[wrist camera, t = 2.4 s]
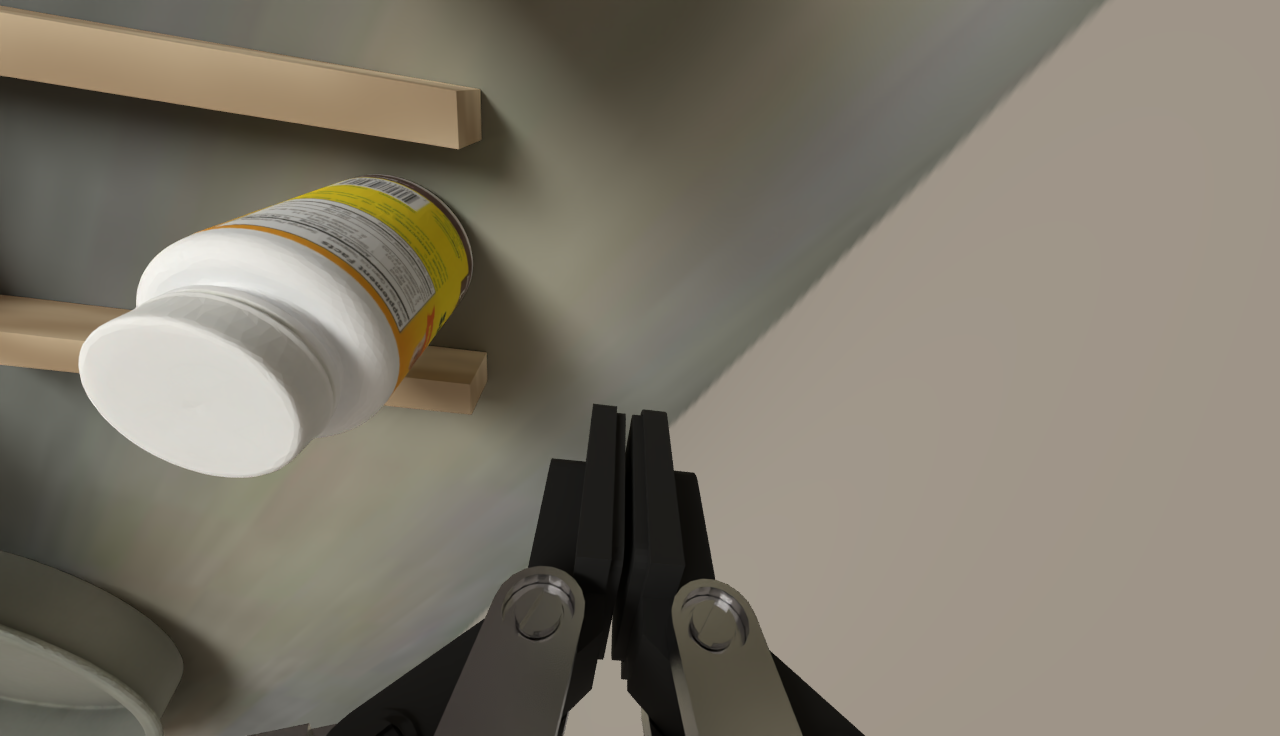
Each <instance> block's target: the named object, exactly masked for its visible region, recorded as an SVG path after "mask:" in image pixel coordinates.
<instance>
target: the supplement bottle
mask: <svg viewBox="0 0 1280 736" xmlns="http://www.w3.org/2000/svg"><path fill="white" fill-rule="evenodd" d="M472 272H473V257H472V251H471V246H470V243H469V240H468V237H467V235H466V232H465V230H464V228H463V227H462V225H461V223H460V222H459V220H458V219H457V217H456V216H455V215H454V213H453V212H452V211H451V210H450V208H449V207H448V206H447V205H446V204H445V203H444V202H443V201H441V200H440V199H439V198H438V197H437V196H435V195H434V194H433V193H431V192H430V191H428V190H427V189H425V188H423V187H422V186H420V185H418V184H416V183H413V182H411V181H409V180H406V179H403V178H400V177H395V176H390V175H382V174H371V175H363V176H358V177H354V178H350V179H347V180H344V181H341V182H338V183H335V184H332V185H329V186H327V187H324V188H321V189H318V190H315V191H312V192H309V193H306V194H304V195H301V196H298V197H295V198H292V199H289V200H286V201H284V202H281V203H278V204H275V205H272V206H269V207H266V208H263V209H261V210H258V211H255V212H252V213H249V214H247V215H244V216H241V217H238V218H236V219H233V220H230V221H227V222H225V223H222V224H219V225H216V226H213V227H211V228H208V229H205V230H202V231H199V232H196V233H194V234H192V235H190V236H188V237H186V238H183V239H181V240H179V241H177V242H175V243H174V244H172V245H170V246H168V247H167V248H165V249H164V250H163V251H161V252H160V253H159V254H158V255H157V256H156V257H155V258H154V259H153V260H152V261H151V262H150V264H149V265H148V267H147V268H146V269H145V271H144V273H143V275H142V277H141V280H140V283H139V286H138V290H137V297H136V308H135V309H134V310H132V311H130V312H128V313H125V314H123V315H121V316H119V317H117V318H115V319H112V320H110V321H109V322H107V323H105V324H103V325H101V326H99V327H98V328H97V329H96V330H94V331H93V332H92V333H91V334H90V335H89V336H88V338H87V339H86V341H85V342H84V343H83V345H82V347H81V350H80V355H79V364H78V366H79V373H80V377H81V382H82V385H83V387H84V389H85V391H86V393H87V395H88V397H89V399H90V400H91V402H92V403H93V405H94V406H95V407H96V408H97V410H98V411H99V412H100V414H101V415H102V416H103V417H104V418H105V419H106V420H107V421H108V422H109V423H110V424H111V425H112V426H113V427H114V428H115V429H117V430H118V431H119V432H120V433H121V434H122V435H124V436H125V437H126V438H128V439H129V440H130V441H131V442H133V443H135V444H136V445H138V446H139V447H141V448H142V449H144V450H146V451H148V452H149V453H151V454H153V455H155V456H157V457H159V458H161V459H163V460H165V461H168V462H170V463H172V464H175V465H178V466H180V467H183V468H186V469H189V470H192V471H196V472H199V473H203V474H208V475H213V476H221V477H244V478H245V477H255V476H260V475H265V474H269V473H271V472H274V471H277V470H279V469H281V468H282V467H284V466H285V465H287V464H288V463H290V462H291V461H292V460H293V459H294V458H295V457H296V456H297V455H298V454H299V453H300V452H301V451H302V450H303V449H304V448H305V447H306V446H307V445H308V444H309V443H310V441H311V440H313V439H315V438H320V437H327V436H333V435H337V434H340V433H343V432H346V431H349V430H351V429H353V428H356V427H358V426H360V425H361V424H363V423H365V422H366V421H368V420H369V419H370V418H371V417H373V416H374V415H375V414H376V413H377V412H378V411H379V410H380V409H381V408H382V406H383V405H384V404H385V403H386V402H387V401H388V399H389V398H390V397H391V395H392V394H393V392H394V391H395V390H396V388H397V387H398V386H399V384H400V383H401V382H402V380H403V379H404V377H405V376H406V375H407V373H408V372H409V371H410V369H411V368H412V367H413V365H414V364H415V362H416V361H417V360H418V358H419V357H420V356H421V354H422V353H423V352H424V350H425V349H426V348H427V346H428V345H429V343H430V342H431V341H432V340H433V338H434V337H435V336H436V334H437V333H438V331H439V330H440V328H441V327H442V326H443V324H444V323H445V322H446V320H447V319H448V318H449V316H450V315H451V313H452V312H453V311H454V309H455V308H456V307H457V306H458V304H459V303H460V301H461V300H462V298H463V296H464V295H465V293H466V291H467V289H468V287H469V284H470V281H471V277H472Z"/></svg>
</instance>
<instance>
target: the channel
mask: <svg viewBox="0 0 1280 736" xmlns="http://www.w3.org/2000/svg"><path fill="white" fill-rule="evenodd" d="M0 76H7V77H13V78H19V79H25V80H32V81H38V82H44V83H50V84H56V85H63V86H69V87H75V88H81V89H87V90H94V91H100V92H106V93H112V94H119V95H125V96H131V97H137V98H143V99H150V100H156V101H162V102H168V103H175V104H181V105H187V106H193V107H199V108H206V109H212V110H218V111H224V112H230V113H237V114H243V115H249V116H255V117H262V118H268V119H274V120H280V121H286V122H293V123H299V124H305V125H311V126H317V127H324V128H330V129H336V130H342V131H349V132H355V133H361V134H367V135H373V136H380V137H386V138H392V139H398V140H404V141H411V142H417V143H423V144H429V145H436V146H442V147H448V148H454V149H461V148H463V147H466V146H468V145H470V144H473V143H475V142H478V141H480V140H482V133H481V91H480V89H476V88H470V87H465V86H459V85H453V84H447V83H442V82H436V81H430V80H424V79H419V78H413V77H407V76H401V75H396V74H390V73H384V72H378V71H373V70H367V69H361V68H356V67H350V66H344V65H338V64H333V63H327V62H321V61H315V60H310V59H304V58H298V57H292V56H287V55H281V54H275V53H269V52H264V51H258V50H252V49H246V48H241V47H235V46H229V45H223V44H218V43H212V42H206V41H200V40H195V39H189V38H183V37H177V36H172V35H166V34H160V33H154V32H149V31H143V30H137V29H132V28H126V27H120V26H114V25H109V24H103V23H97V22H91V21H86V20H80V19H74V18H68V17H63V16H57V15H51V14H45V13H40V12H34V11H28V10H22V9H17V8H11V7H5V6H0ZM130 311H132V310H126V309H118V308H109V307H101V306H93V305H84V304H76V303H67V302H59V301H51V300H42V299H34V298H26V297H17V296H9V295H0V365H9V366H18V367H28V368H37V369H46V370H56V371H65V372H75V373H79V366H78V364H79V355H80V350H81V347H82V345H83V343H84V342H85V341H86V339H87V338H88V336H89V335H90V334H91V333H92V332H93V331H94V330H96V329H97V328H98V327H99V326H101V325H103V324H105V323H107V322H109V321H110V320H112V319H115V318H117V317H119V316H121V315H123V314H125V313H128V312H130ZM486 383H487V353H486V352H478V351H469V350H461V349H453V348H444V347H436V346H427V348H426V349H425V350H424V352H423V353H422V354H421V356H420V357H419V358H418V360H417V361H416V362H415V364H414V365H413V367H412V368H411V369H410V371H409V372H408V373H407V375H406V376H405V377H404V379H403V380H402V382H401V383H400V384H399V386H398V387H397V388H396V390H395V391H394V392H393V394H392V395H391V397H390V398H389V399H388V401H387V402H386V403H385V404H384V405H385V406H395V407H404V408H414V409H423V410H433V411H442V412H451V413H461V414H470V415H472V413H473V410H474V408H475V406H476V404H477V402H478V400H479V398H480V396H481V393H482V391H483V389H484V387H485V385H486Z"/></svg>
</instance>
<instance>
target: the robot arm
mask: <svg viewBox="0 0 1280 736" xmlns="http://www.w3.org/2000/svg"><path fill="white" fill-rule="evenodd" d="M625 429H626V414H622V413H617V406H608V405H599V404H593V410H592V418H591V426H590V434H589V442H588V450H587V458H586V462H582V461H572V460H563V459H553V458H552V460H551V463H550V467H549V472H548V477H547V481H546V486H545V491H544V495H543V500H542V505H541V509H540V514H539V519H538V524H537V528H536V533H535V538H534V542H533V547H532V552H531V556H530V561H529V566H528V568H526V569H524V570H522V571H520V572H518V573H516V574H514V575H512V576H511V577H510V578H509V579H508V580H507V581H505V582H504V583H503V584H502V585H501V587H500V589H499V590H498V592H497V593H496V595H495V597H494V599H493V601H492V604H491V606H490V608H489V610H488V613H487V615H486V617H485V619H483V620H482V621H480V622H479V623H477V624H476V625H475V626H473V627H472V628H470V629H469V630H467V631H466V632H465V633H463V634H462V635H460V636H459V637H457V638H456V639H455V640H453V641H452V642H450V643H449V644H448V645H446V646H445V647H443V648H442V649H440V650H439V651H438V652H436V653H435V654H433V655H432V656H430V657H429V658H428V659H426V660H425V661H423V662H422V663H421V664H419V665H418V666H416V667H415V668H413V669H412V670H411V671H409V672H408V673H406V674H405V675H403V676H402V677H401V678H399V679H398V680H396V681H395V682H393V683H392V684H391V685H389V686H388V687H386V688H385V689H384V690H382V691H381V692H379V693H378V694H376V695H375V696H374V697H372V698H371V699H369V700H368V701H366V702H365V703H364V704H362V705H361V706H359V707H358V708H356V709H355V710H354V711H352V712H351V713H349V714H348V715H347V716H346V717H345V718H344V719H342V720H341V721H340V722H339V723H338V724H333V725H329V726H324V727H319V728H314V729H312V728H311V726H310V724H309V723H308V724H303V725H298V726H293V727H288V728H283V729H278V730H273V731H268V732H264V733H259V734H254V735H249V736H564V732H565V728H566V723H567V719H568V714H569V711H570V710H571V709H572V708H573V707H574V706H575V705H576V704H577V703H578V702H579V701H580V700H581V699H582V698H583V697H584V696H585V695H586V694H587V693H588V692H589V691H590V690H591V689H592V685H593V679H594V675H595V670H596V664H597V659H602V660H603V658H604V653H605V649H606V644H607V639H608V634H609V629H610V625H611V620H612V652H611V654H612V655H611V656H612V660H619V661H621V679H627V691H628V692H629V693H630V694H631V696H632V697H633V698H634V699H635V700H636V702H637V703H638V704H639V705H640V706H641V719H642V726H643V733H644V736H865V735H864V734H862V733H861V732H860V731H859V730H858V729H857V728H856V727H855V726H854V725H853V724H851V723H850V722H849V721H848V720H847V719H846V718H845V717H844V716H842V715H841V714H840V713H839V712H838V711H837V710H836V709H835V708H834V707H832V706H831V705H830V704H829V703H828V702H826V700H825V699H823V698H822V697H821V696H820V695H819V694H818V693H817V692H816V691H815V690H813V689H812V688H811V687H810V686H809V685H808V684H807V683H806V682H804V681H803V680H802V679H801V678H800V677H799V676H798V675H797V674H796V673H794V672H793V671H792V670H791V669H790V668H789V667H788V666H787V665H785V664H784V663H783V662H782V661H781V660H780V659H779V658H778V657H777V656H775V655H774V654H773V653H772V652H771V651H770V650H769V648H768V646H767V643H766V640H765V638H764V635H763V633H762V630H761V628H760V625H759V622H758V620H757V617H756V615H755V613H754V611H753V609H752V608H751V606H750V604H749V602H747V600H746V599H745V598H744V597H743V596H742V595H741V594H740V593H739V592H738V591H736V590H735V589H734V588H732V587H730V586H729V585H728V584H725V583H722V582H720V581H717V580H715V575H714V570H713V564H712V559H711V553H710V547H709V542H708V536H707V531H706V525H705V520H704V514H703V508H702V503H701V497H700V492H699V486H698V481H697V477H696V475H695V473H690V472H681V471H674V470H673V460H672V452H671V444H670V435H669V427H668V419H667V413H666V412H661V411H652V410H642V412H641V416H640V415H632V419H631V424H630V430H629V436H628V441H627V447H626V452H625ZM612 615H613V618H612Z"/></svg>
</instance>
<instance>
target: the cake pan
mask: <svg viewBox="0 0 1280 736" xmlns="http://www.w3.org/2000/svg"><path fill="white" fill-rule="evenodd" d="M183 667H184V666H183V660H182V657H181V655H180V653H179V651H178V649H177V647H176V646H175V644H174V643H173V641H172V640H171V639H170V638H169V636H168V635H167V634H166V633H165V632H164V631H163V630H162V629H161V628H159V627H158V626H157V625H156V624H155V623H154V622H153V621H151V620H150V619H149V618H148V617H146V616H145V615H143V614H142V613H141V612H139V611H138V610H136V609H135V608H133V607H132V606H130V605H129V604H127V603H125V602H124V601H122V600H120V599H119V598H117V597H115V596H113V595H112V594H110V593H108V592H106V591H104V590H102V589H100V588H98V587H96V586H94V585H92V584H90V583H88V582H86V581H83V580H81V579H79V578H77V577H75V576H72V575H70V574H67V573H65V572H63V571H60V570H58V569H55V568H53V567H50V566H47V565H44V564H42V563H39V562H36V561H33V560H30V559H27V558H24V557H21V556H18V555H14V554H11V553H7V552H4V551H1V550H0V736H163V734H164V732H163V727H162V724H161V721H160V719H161V717H162V715H163V713H164V711H165V709H166V707H167V705H168V703H169V701H170V699H171V697H172V696H173V694H174V692H175V690H176V688H177V686H178V684H179V682H180V680H181V677H182V674H183Z"/></svg>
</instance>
